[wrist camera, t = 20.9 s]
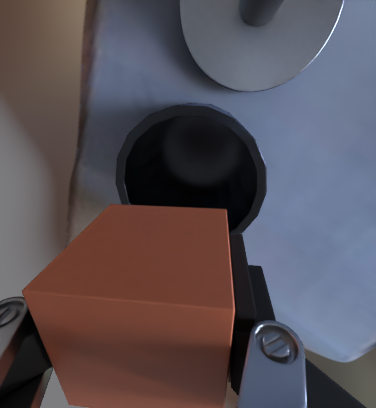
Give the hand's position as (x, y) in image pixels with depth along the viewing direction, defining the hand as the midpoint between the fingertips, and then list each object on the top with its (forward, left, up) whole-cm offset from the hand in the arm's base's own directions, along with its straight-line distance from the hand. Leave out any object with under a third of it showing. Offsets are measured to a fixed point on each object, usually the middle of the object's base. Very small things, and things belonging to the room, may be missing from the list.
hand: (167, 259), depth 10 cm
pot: (0, 0, -16) cm, 16 cm away
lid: (-13, -5, -15) cm, 21 cm away
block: (0, 0, 0) cm, 0 cm away
